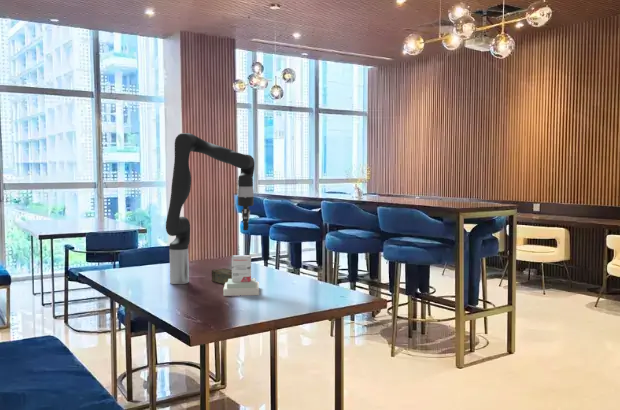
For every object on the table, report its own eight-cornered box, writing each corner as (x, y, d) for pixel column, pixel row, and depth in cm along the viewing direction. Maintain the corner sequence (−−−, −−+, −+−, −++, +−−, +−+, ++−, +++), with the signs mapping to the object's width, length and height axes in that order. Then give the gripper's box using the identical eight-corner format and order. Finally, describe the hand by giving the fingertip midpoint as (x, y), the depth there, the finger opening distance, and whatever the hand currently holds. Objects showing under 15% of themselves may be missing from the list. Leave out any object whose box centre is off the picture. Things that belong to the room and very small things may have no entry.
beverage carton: (232, 287, 272) (232, 273, 272) (210, 281, 286) (210, 269, 286) (246, 284, 278) (245, 271, 277) (223, 279, 292) (223, 267, 291)
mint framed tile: (225, 288, 268) (225, 278, 267) (259, 287, 269) (259, 277, 269) (223, 295, 252) (223, 284, 252) (259, 295, 253) (259, 284, 253)
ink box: (251, 279, 263) (251, 254, 262) (250, 282, 258) (249, 256, 257) (233, 279, 263) (233, 254, 263) (231, 281, 258) (231, 256, 258)
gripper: (238, 195, 277) (238, 227, 278) (237, 196, 263) (237, 230, 264) (253, 195, 278) (254, 227, 279) (253, 196, 264) (253, 230, 265)
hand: (245, 229), depth 272 cm, fingers open, 8 cm apart
